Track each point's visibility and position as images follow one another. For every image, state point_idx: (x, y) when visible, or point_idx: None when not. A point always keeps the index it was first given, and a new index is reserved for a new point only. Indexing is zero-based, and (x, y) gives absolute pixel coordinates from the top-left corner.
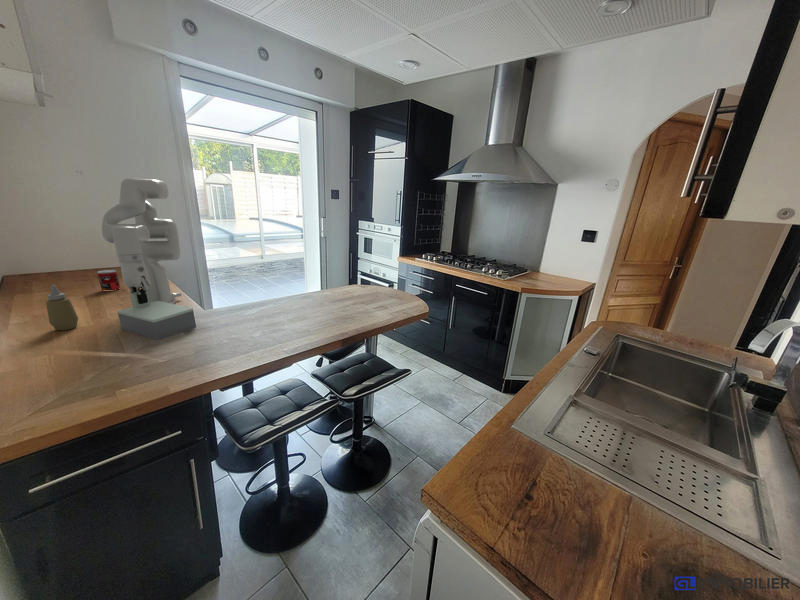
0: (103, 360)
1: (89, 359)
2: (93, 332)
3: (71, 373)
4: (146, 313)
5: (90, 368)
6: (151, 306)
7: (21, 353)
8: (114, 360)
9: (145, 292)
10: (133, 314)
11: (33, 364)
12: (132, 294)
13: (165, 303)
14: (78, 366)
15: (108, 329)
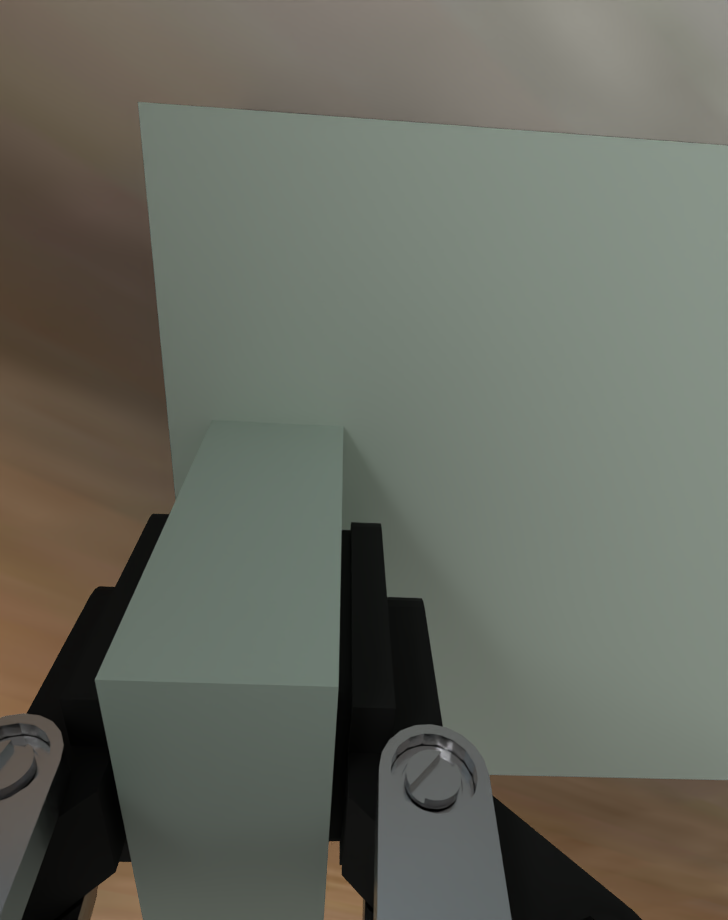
0: (653, 814)
1: (558, 830)
2: (33, 644)
3: (631, 901)
4: (718, 700)
5: (674, 863)
6: (468, 480)
7: (109, 897)
8: (720, 798)
9: (502, 810)
10: (572, 769)
11: (341, 917)
12: (272, 917)
13: (567, 212)
14: (588, 871)
15: (52, 566)
